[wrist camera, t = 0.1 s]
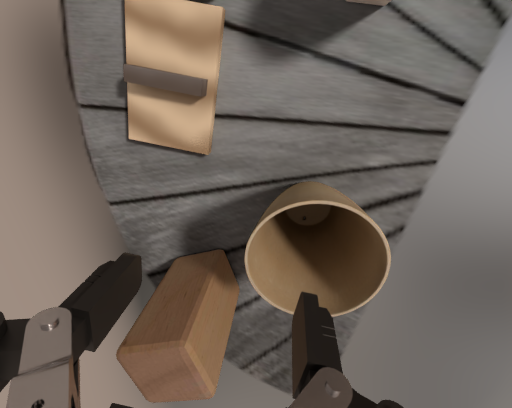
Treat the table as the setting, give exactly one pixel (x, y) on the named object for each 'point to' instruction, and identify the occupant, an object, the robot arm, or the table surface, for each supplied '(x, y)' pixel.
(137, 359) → the wooden block
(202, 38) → the stand
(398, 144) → the table surface
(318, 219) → the plant pot
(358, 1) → the jar
